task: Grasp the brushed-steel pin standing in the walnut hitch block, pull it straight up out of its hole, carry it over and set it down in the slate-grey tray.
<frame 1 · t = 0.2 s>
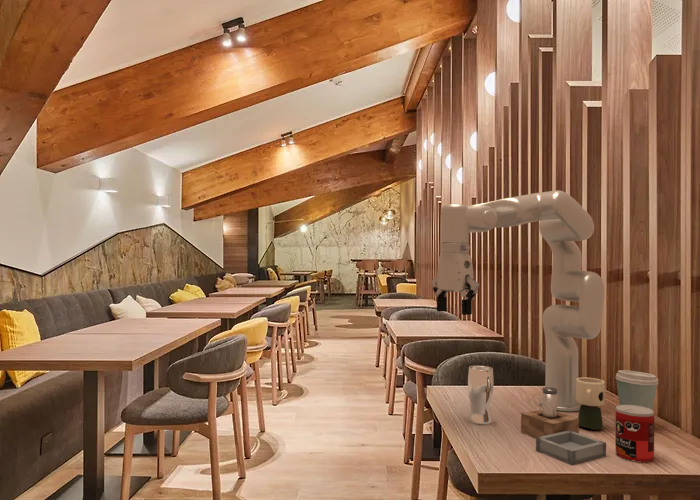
hand: (453, 312, 142), 31 cm above the table, tool pointing down, fingers open, 9 cm apart
hitch block: (549, 435, 136), on the table
character mug: (590, 428, 143), on the table
tray: (570, 452, 124), on the table
pin: (549, 412, 136), in the hitch block
disposable coffee cup: (636, 426, 145), on the table
beer glass: (480, 422, 147), on the table
canned food: (634, 457, 122), on the table
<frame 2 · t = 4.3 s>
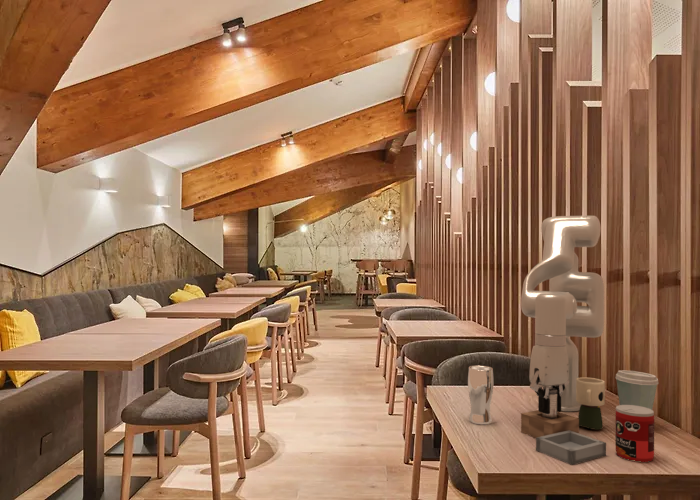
hand: (549, 410, 136), 6 cm above the table, tool pointing down, fingers closed on pin, 3 cm apart
pin: (549, 412, 136), in the hitch block, touching gripper
everything else where it was.
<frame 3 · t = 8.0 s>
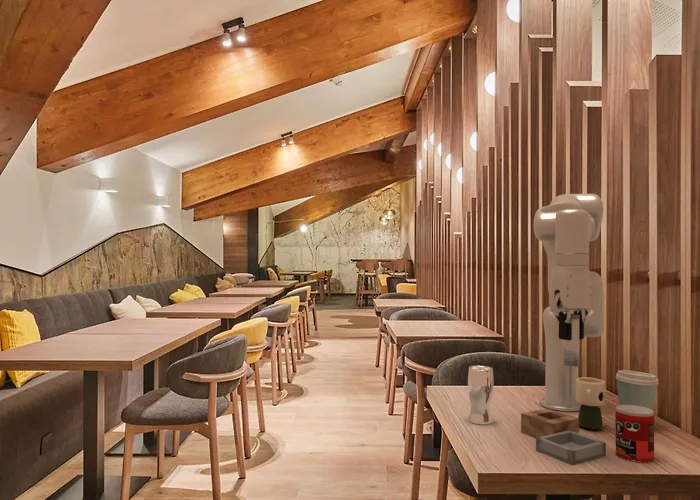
hand: (571, 338, 124), 27 cm above the table, tool pointing down, fingers closed on pin, 3 cm apart
pin: (571, 339, 124), point 27 cm above the table, touching gripper
everything else where it was.
when the fingers open (8 cm above the table, at t = 11.6 s): pin stays where it is, resting on tray.
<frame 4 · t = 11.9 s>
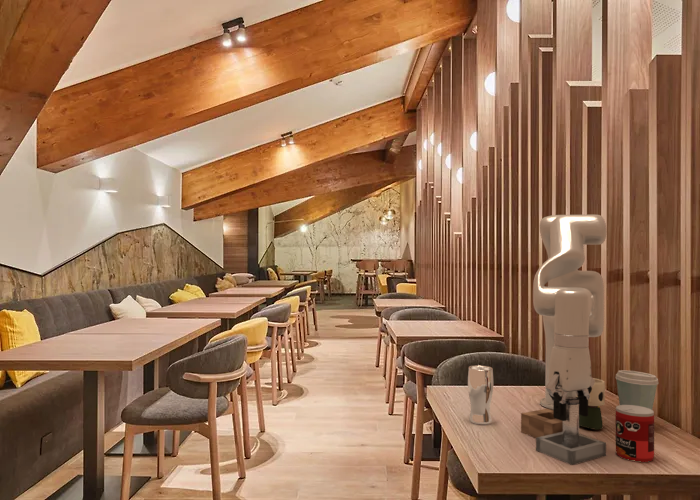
hand: (570, 416, 124), 9 cm above the table, tool pointing down, fingers open, 7 cm apart
pin: (570, 423, 124), in the tray, point 7 cm above the table
everything else where it was.
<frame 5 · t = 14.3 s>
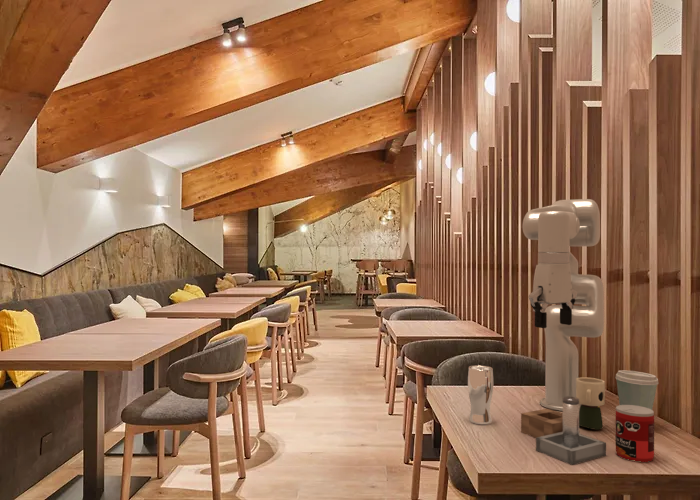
hand: (553, 325, 134), 29 cm above the table, tool pointing down, fingers open, 9 cm apart
nothing on the table moved.
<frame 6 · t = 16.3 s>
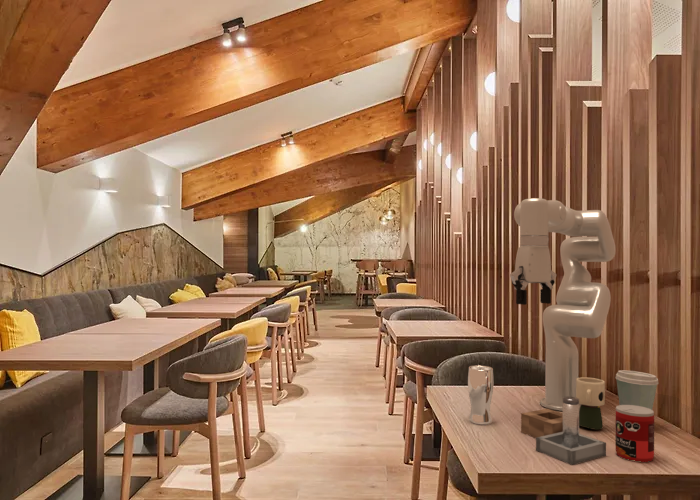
hand: (533, 303, 146), 33 cm above the table, tool pointing down, fingers open, 9 cm apart
nothing on the table moved.
at the end: pin inside the target area on the tray (0.1 cm from its centre), point 6.8 cm above the tray's base; the gripper is holding nothing; pin touching tray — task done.
